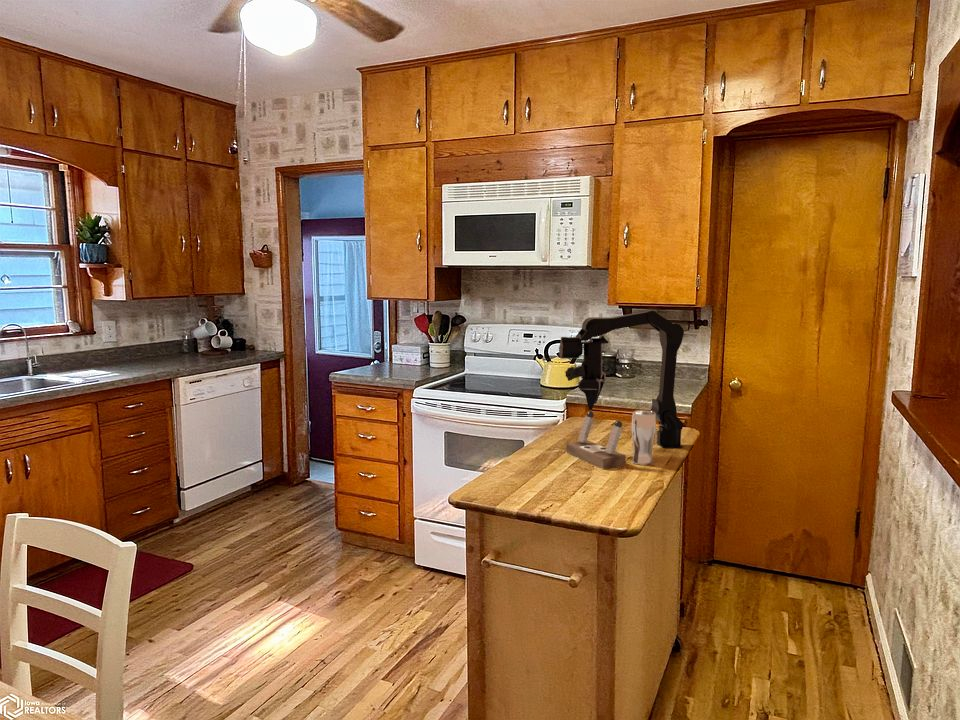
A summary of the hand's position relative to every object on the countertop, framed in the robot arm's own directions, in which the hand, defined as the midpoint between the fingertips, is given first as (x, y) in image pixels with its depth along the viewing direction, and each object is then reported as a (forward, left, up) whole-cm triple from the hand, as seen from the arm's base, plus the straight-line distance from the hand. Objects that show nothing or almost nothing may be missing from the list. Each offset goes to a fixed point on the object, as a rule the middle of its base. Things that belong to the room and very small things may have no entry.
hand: (592, 406), depth 207 cm
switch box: (+3, +13, -13) cm, 19 cm away
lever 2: (0, +19, -10) cm, 22 cm away
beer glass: (-10, +18, -14) cm, 25 cm away
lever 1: (+5, +6, -10) cm, 13 cm away
